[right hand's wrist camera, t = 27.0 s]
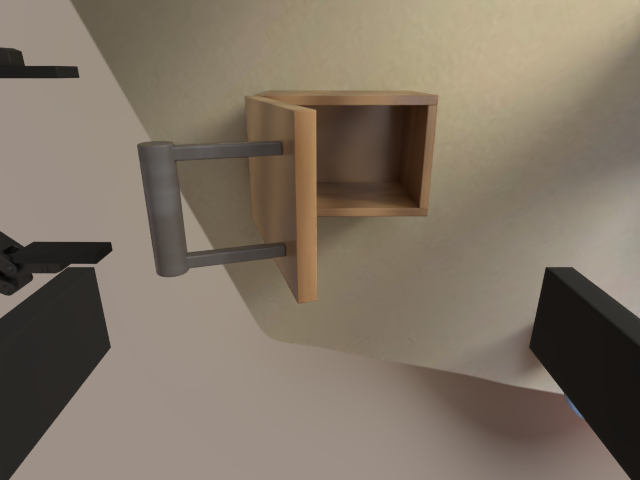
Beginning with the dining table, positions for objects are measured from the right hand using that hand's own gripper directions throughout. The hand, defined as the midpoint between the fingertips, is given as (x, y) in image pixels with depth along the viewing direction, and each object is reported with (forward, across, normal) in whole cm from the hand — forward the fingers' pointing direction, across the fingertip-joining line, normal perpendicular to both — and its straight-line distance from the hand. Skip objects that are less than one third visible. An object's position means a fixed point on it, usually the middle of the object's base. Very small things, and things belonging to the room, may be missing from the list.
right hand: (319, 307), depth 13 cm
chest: (+35, +2, 0) cm, 35 cm away
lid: (+17, -2, 0) cm, 17 cm away
